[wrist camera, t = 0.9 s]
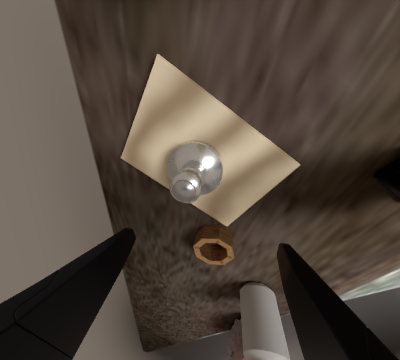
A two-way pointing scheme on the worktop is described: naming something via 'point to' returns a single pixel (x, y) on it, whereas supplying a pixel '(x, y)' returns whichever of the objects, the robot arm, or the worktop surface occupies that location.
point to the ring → (214, 253)
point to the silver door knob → (194, 170)
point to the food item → (236, 342)
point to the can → (261, 324)
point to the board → (207, 132)
